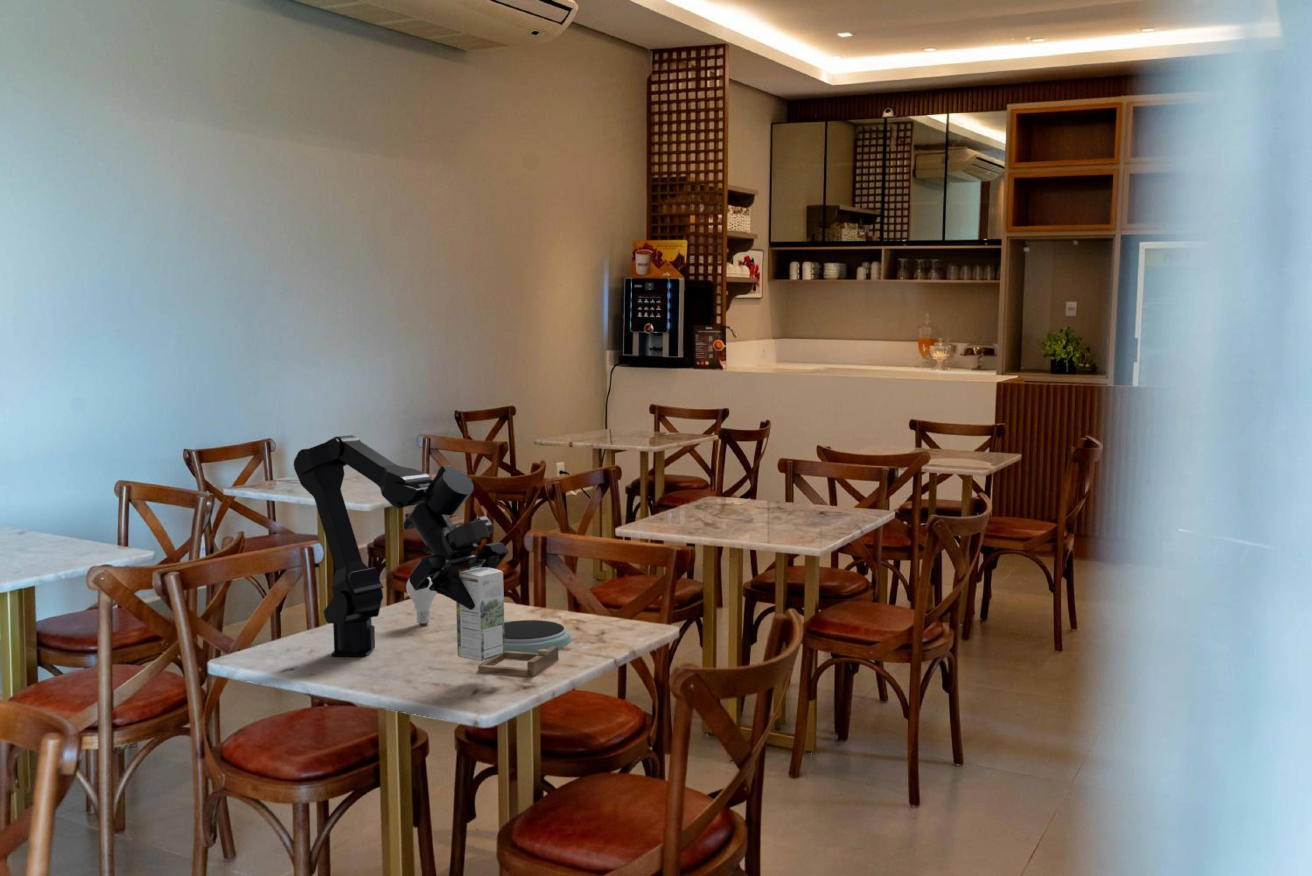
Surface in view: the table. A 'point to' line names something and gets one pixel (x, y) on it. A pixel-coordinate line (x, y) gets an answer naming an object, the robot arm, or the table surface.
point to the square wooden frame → (534, 664)
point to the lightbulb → (421, 601)
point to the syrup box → (481, 615)
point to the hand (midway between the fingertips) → (486, 604)
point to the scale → (534, 635)
